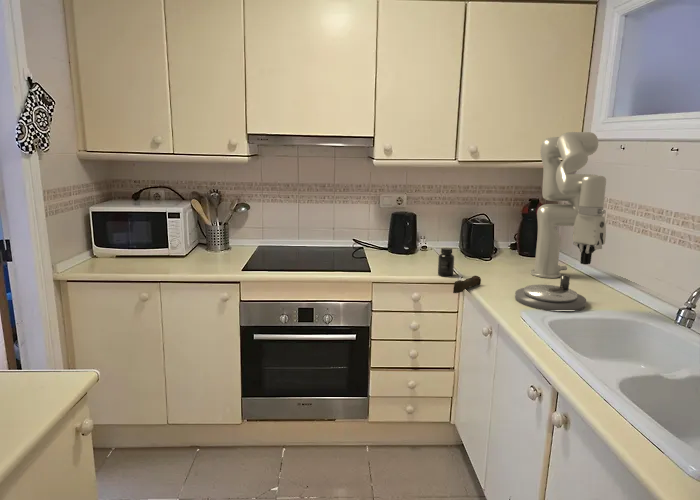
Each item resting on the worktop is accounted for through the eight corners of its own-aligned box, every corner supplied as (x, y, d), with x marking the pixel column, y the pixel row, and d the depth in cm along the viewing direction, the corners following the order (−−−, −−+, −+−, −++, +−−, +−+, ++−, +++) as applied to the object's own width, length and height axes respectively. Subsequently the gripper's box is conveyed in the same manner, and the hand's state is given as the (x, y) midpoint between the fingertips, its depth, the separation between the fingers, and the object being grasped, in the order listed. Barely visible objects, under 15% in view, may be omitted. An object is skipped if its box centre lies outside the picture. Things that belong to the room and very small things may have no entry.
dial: (551, 305, 162) (553, 286, 161) (513, 291, 178) (514, 274, 177) (588, 298, 170) (590, 281, 168) (548, 286, 186) (550, 270, 184)
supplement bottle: (456, 275, 210) (458, 249, 207) (445, 277, 206) (446, 250, 204) (445, 272, 215) (447, 246, 213) (434, 274, 212) (435, 248, 209)
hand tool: (472, 283, 198) (472, 273, 197) (480, 285, 195) (481, 274, 194) (447, 293, 184) (447, 281, 184) (456, 295, 182) (456, 283, 181)
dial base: (555, 290, 189) (556, 284, 188) (601, 308, 166) (602, 302, 166) (502, 294, 183) (502, 288, 182) (542, 314, 160) (542, 307, 159)
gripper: (618, 213, 159) (612, 267, 162) (579, 209, 172) (574, 259, 175) (602, 214, 156) (596, 269, 159) (564, 210, 169) (560, 260, 172)
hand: (585, 263), depth 167 cm, fingers closed
